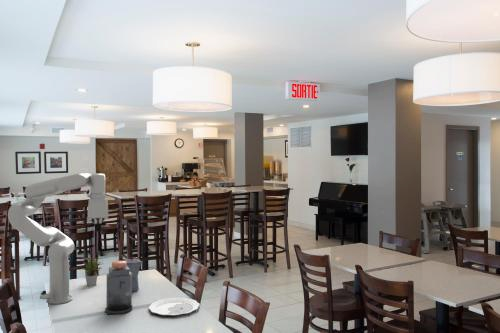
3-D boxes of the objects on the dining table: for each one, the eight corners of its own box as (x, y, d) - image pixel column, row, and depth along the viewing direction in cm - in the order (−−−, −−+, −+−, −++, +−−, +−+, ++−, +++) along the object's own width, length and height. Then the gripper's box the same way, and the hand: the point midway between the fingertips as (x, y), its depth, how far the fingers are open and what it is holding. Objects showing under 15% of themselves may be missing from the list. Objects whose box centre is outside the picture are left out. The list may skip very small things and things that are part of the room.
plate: (156, 322, 194) (156, 318, 194) (143, 305, 217) (143, 301, 217) (206, 313, 206) (206, 309, 206) (189, 298, 228) (189, 294, 228)
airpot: (109, 319, 197) (109, 274, 197) (102, 306, 213) (102, 265, 213) (137, 314, 203) (137, 271, 203) (128, 302, 220) (128, 262, 219)
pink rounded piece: (113, 276, 204) (113, 264, 204) (110, 273, 210) (110, 261, 210) (127, 274, 207) (128, 263, 207) (124, 271, 213) (124, 260, 213)
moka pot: (138, 294, 234) (138, 258, 233) (113, 292, 237) (113, 257, 237) (146, 289, 243) (146, 254, 243) (121, 287, 246) (122, 253, 246)
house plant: (98, 289, 242) (98, 261, 241) (74, 289, 242) (74, 261, 241) (107, 282, 256) (107, 255, 256) (84, 282, 256) (85, 255, 256)
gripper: (83, 197, 216) (83, 233, 216) (113, 196, 223) (113, 230, 224) (81, 196, 223) (81, 230, 223) (110, 195, 230) (110, 228, 230)
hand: (97, 230), depth 223 cm, fingers closed
